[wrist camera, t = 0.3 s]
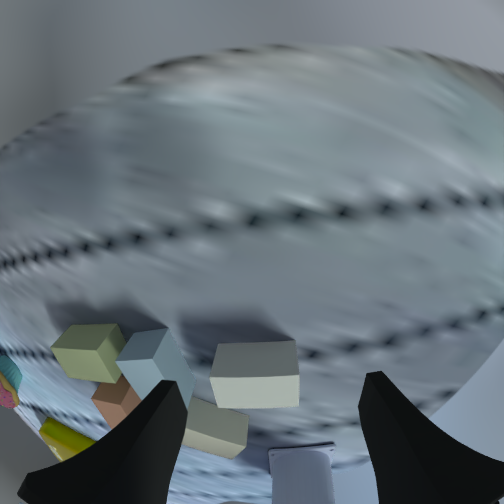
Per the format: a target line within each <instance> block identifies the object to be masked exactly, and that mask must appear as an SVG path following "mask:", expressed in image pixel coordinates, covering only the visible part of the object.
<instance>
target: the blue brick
mask: <svg viewBox="0 0 504 504" xmlns="http://www.w3.org/2000/svg"><path fill="white" fill-rule="evenodd" d="M115 362H116V364H117V365H118V367H119V368H120V370H121V371H122V373H123V374H124V376H125V377H126V379H127V380H128V382H129V383H130V385H131V386H132V388H133V389H134V390H135V392H136V393H137V395H138V396H139V397H140V399H141V400H143V399H144V398H145V397H146V396H147V395H148V394H149V393H150V392H151V390H152V389H153V388H154V387H155V386H156V385H157V384H158V383H159V382H160V381H161V380H173V381H176V382H177V385H178V387H179V390H180V393H181V395H182V398H183V400H184V403H185V406H186V408H187V410H188V406H189V403H190V400H191V396H192V393H193V390H194V386H195V383H196V379H195V377H194V375H193V374H192V372H191V370H190V368H189V366H188V364H187V363H186V361H185V359H184V357H183V355H182V353H181V351H180V349H179V347H178V345H177V343H176V341H175V339H174V337H173V335H172V333H171V331H170V329H169V328H164V329H157V330H150V331H143V332H135V333H133V335H132V336H131V338H130V339H129V341H128V342H127V344H126V345H125V347H124V348H123V350H122V351H121V353H120V354H119V356H118V357H117V359H116V360H115Z"/></svg>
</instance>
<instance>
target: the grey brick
mask: <svg viewBox="0 0 504 504" xmlns="http://www.w3.org/2000/svg"><path fill="white" fill-rule="evenodd" d="M210 381H211V385H212V388H213V392H214V395H215V399H216V402H217V406H218V408H282V407H298V406H299V366H298V357H297V348H296V340H292V341H276V342H255V343H218V346H217V350H216V354H215V358H214V362H213V365H212V369H211V373H210Z"/></svg>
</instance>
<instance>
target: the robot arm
mask: <svg viewBox="0 0 504 504" xmlns="http://www.w3.org/2000/svg"><path fill="white" fill-rule="evenodd" d="M358 409H359V415H360V421H361V427H362V431H363V434H364V438H365V441H366V444H367V448H368V451H369V454H370V458H371V461H372V465H373V468H374V472H375V476H376V482H377V490H378V498H379V504H499V501H498V500H499V499H501V498H502V497H504V462H502V461H498V460H495V459H492V458H490V457H488V456H485V455H483V454H480V453H479V452H476V451H474V450H473V449H471V448H469V447H467V446H465V445H464V444H462V443H460V442H458V441H457V440H455V439H454V438H452V437H451V436H449V435H448V434H447V433H445V432H444V431H443V430H441V429H440V428H438V427H437V426H436V425H435V424H434V423H432V422H431V421H430V420H429V419H428V418H427V417H426V416H425V415H424V414H422V413H421V412H420V411H419V410H418V409H417V408H416V407H415V406H414V405H413V404H412V403H411V402H410V401H409V400H408V399H407V398H406V397H405V396H404V395H403V394H402V392H401V391H400V390H399V389H398V388H397V387H396V386H395V385H394V384H393V383H392V382H391V381H390V379H389V378H388V377H387V376H386V375H385V374H384V373H383V372H382V371H377V372H371V373H367V374H366V378H365V382H364V386H363V390H362V394H361V397H360V401H359V404H358ZM187 417H188V411H187V408H186V406H185V403H184V400H183V398H182V395H181V393H180V390H179V387H178V385H177V382H176V381H173V380H161V381H160V382H159V383H158V384H157V385H156V386H155V387H154V388H153V389H152V390H151V392H150V393H149V394H148V395H147V396H146V397H145V398H144V399H143V400H142V401H141V402H140V403H139V404H138V405H137V406H136V407H135V408H134V409H133V410H132V411H131V412H130V413H129V415H128V416H126V417H125V418H124V419H123V420H122V421H121V422H120V423H119V424H118V425H117V426H116V427H114V428H113V429H112V430H111V431H110V432H109V433H107V434H106V435H105V436H104V437H102V438H101V439H100V440H98V441H97V442H96V443H94V444H93V445H91V446H90V447H88V448H86V449H85V450H83V451H81V452H80V453H78V454H76V455H74V456H73V457H71V458H69V459H67V460H65V461H62V462H60V463H58V464H56V465H53V466H50V467H48V468H44V469H41V470H38V471H35V472H31V473H28V474H27V476H26V477H25V479H24V481H23V483H22V485H21V487H20V489H19V491H18V492H17V494H18V496H19V497H20V498H21V499H23V500H24V501H25V502H27V503H28V504H166V501H167V495H168V489H169V484H170V480H171V476H172V473H173V469H174V466H175V463H176V460H177V457H178V454H179V450H180V447H181V444H182V441H183V437H184V434H185V429H186V423H187ZM335 450H336V445H335V444H329V445H321V446H312V447H301V448H286V449H270V450H269V451H268V455H269V464H270V472H271V478H272V504H335V496H334V487H333V479H332V471H331V463H332V460H333V457H334V454H335ZM19 504H23V503H22V502H20V503H19Z"/></svg>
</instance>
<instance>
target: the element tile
mask: <svg viewBox="0 0 504 504" xmlns="http://www.w3.org/2000/svg"><path fill="white" fill-rule="evenodd" d="M39 434H40V435H41V437H42V438H43V440H44V441H45V442H46V444H47V445H48V447H49V448H50V449H51V451H52V452H53V453H54V455H55V456H56V457H57V459H58V460H59V461H60V462H62V461H65V460H67V459H69V458H71V457H73V456H74V455H76V454H78V453H80V452H81V451H83V450H85V449H86V448H88V447H90V446H91V445H93V444H94V443H96V441H94V440H92V439H90V438H88V437H86V436H84V435H82V434H80V433H78V432H76V431H74V430H72V429H70V428H68V427H66V426H65V425H63V424H61V423H59V422H58V421H56V420H54V419H52V418H50V417H47V419H46V420H45V422H44V423H43V425H42V427H41V428H40V430H39Z"/></svg>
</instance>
